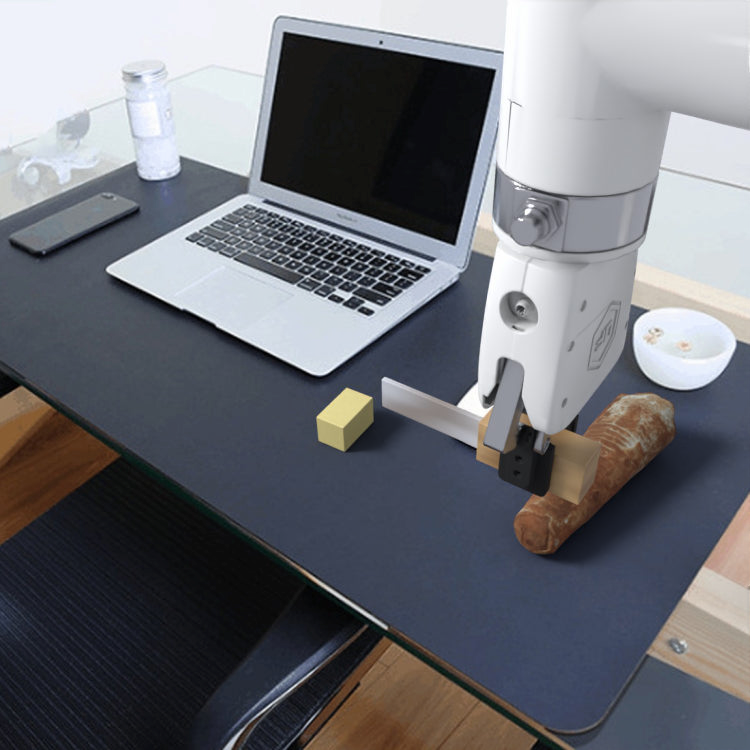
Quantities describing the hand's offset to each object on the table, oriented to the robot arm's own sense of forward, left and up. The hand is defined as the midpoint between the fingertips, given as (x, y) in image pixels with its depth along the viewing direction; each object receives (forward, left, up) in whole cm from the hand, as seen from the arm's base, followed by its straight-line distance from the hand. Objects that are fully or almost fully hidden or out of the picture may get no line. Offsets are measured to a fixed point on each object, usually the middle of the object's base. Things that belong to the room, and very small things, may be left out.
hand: (534, 468), depth 50 cm
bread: (-4, -14, -15) cm, 21 cm away
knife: (+4, -1, 0) cm, 4 cm away
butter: (+19, -15, -15) cm, 29 cm away
